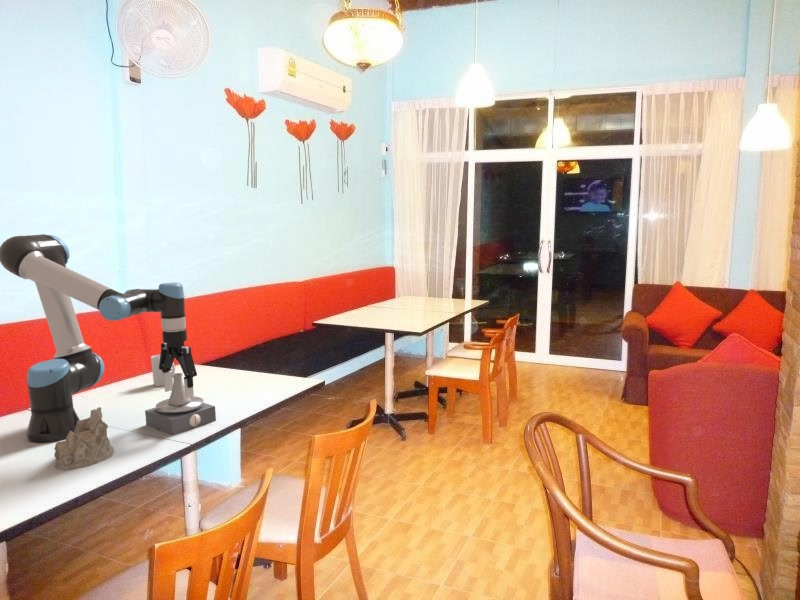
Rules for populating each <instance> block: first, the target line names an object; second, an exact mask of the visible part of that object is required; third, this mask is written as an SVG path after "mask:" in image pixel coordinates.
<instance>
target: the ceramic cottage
mask: <svg viewBox="0 0 800 600" xmlns="http://www.w3.org/2000/svg"><path fill="white" fill-rule="evenodd" d="M102 418H103V412H102V406H99V407H96V408H94V409H91V410H90V416H89V417H88V418H84V419H79V421H77V423H76V428H75V430H74V432H72V431H69V433H68V436H67V437H66V438H65V439H64V440H62V441H56V443H55V446H54V458H55V460H56V461H55V462H54V467H55V468H57V469H58V470H59V471H68V470H75V469H78V468H83V467H89V466H91V465H95V464H98V463H101V462H104V461H105V460H108V459H110V458H111V457H112V456H113V455H114V454H115V450H114V447H113V446H112V445H111V442H110V441H111V440H110V439H109V437H108V427H109V425H108V424H107V423H106V422H104V421H103V419H102Z"/></svg>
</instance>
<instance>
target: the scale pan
mask: <svg viewBox="0 0 800 600" xmlns="http://www.w3.org/2000/svg"><path fill="white" fill-rule="evenodd" d="M169 399H170V398H167V399H164V400H161V401H159V402H157V403H156V404H155V407H156V410H157V411H158V412H161V413H182V412H188V411H192V410H195V409H197V408H200V407H201V406H202V405H203V404H204V403H205V402H204V398H202V397H200V396H195V395H194V396H192V397H190V399H191V401H190V403H187V404H185V405H177V406H173V405H168V402H169Z"/></svg>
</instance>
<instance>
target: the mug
mask: <svg viewBox="0 0 800 600" xmlns="http://www.w3.org/2000/svg"><path fill="white" fill-rule="evenodd" d="M160 355H161V353H159V354H155V355H152V356H150V360H151V362H150V363H151V370H152V379H153V386H154V387H163V386H164V387H165V385H164V374H163V372H162V370H159V362H160ZM162 366H163V365H162ZM171 369H172V370H171V371H172V375H173V374H175V372H176V366H175V363H174V362H173V364H172V367H171Z"/></svg>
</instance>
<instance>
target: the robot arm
mask: <svg viewBox="0 0 800 600" xmlns="http://www.w3.org/2000/svg"><path fill="white" fill-rule="evenodd" d="M69 259H70V250H69V247H68V246H67V244H66V242H65V241H64V240H62V239H61V238H59V237H58V236H56V235H52V234H44V233H43V234H31V235H17V236H16V235H14V236H11V237H9V238H7V239H6V240H4V241H3V242H2V244H1V245H0V265H2V267H3V268H4V269H5V270H7V271H8V272H9V273H11V274H13V275H14V276H16V277H19V278H21V279H23V280H30V281H32V282H34V283H35V287H36V290H37V293H38V296H39V298H40V299H39V300H40V302H41V306H42V308H43V312H44V315H45V319H46V320H47V325H48V327H49V332H50V334H51V337H52V340H53V344H54V346H55V350H56V352H55V354H54V355H53V359H47V360H45V361H44V360H42V361H40V362H37V363H35V364H33V365H31V366H30V367H29V368H28V370H27V372H26V373H27V375H26V377H27V378H26V384H27V390H28V396H29V404H30V412H31V413H30V414H31V415H30V419H29V422H28V427H27V431H26V437H27V441H30V442H31V443H32V442H33V443H48V442H58V441H61V440H66V437H67V436H68V433H69V431H72V432H74V430H75V428H76V423H77V421H79V420H80V418H79V415H78V413H77V412H76V410H75V408H74V400H73V395H75V394H78V393H79V392H81V391H83V390H86V389H90V388H92V387H93V386H94V385H96V384H98V383H99V382H100V381H101V379H102V378H103V375H104V374H105V364H104V361H103V359H102V357H101V356H100V355H98V354H97V353H95V352H93V350H92V346H90V345H88V344H87V343H85V341H84V337H83V334H82V330H81V328H80V324H79V321H78V319H77V318H78V317H77V314H76V312H75V309H74V304H73V302H72V298H73V299H74V300H77V301H78V302H81V303H83V304H85V305H87V306H89V307H91V308H94V309H96V310H98V311H99V313H100V315H101V317H102V318H103V319H105V320H107V321H110V322H115V321H120V320H122V321H123V320H124V319H127V318H129V317H133V316H137V315H140V314H144V313H160V321H161V329H162V333H161V336H162V342H163V343H162V342H161V343H160V354H161V355H160V354H159V355H160V362H159V370H162V372H163V374H164V385H165V386H164V392H166V393H167V392H170V391H171V392H172V388H173V382H174V379H173V377H172V364H173V363H174V361H175V360H176V361H178V364H179V366H180V368H181V370H182V373H183V374H184V377H183V384H184V388H185V398H188V397H192V396H195V394H194V378H195V377H197V376H198V374H197V373H198V372H197V369H196V365H195V362H194V358H193V354H192V347H191V346H185V342H186V341H187V340H188V333H187V332H188V331H187V329H186V328H187V323H186V321H187V318H186V309H185V308H186V307H185V306H186V305H185V292H184V286H183V284H182V283H180V282H164V283H163V282H162V283H160V284H158V289H157V288H156V289H150V288H149V289H146V288H145V289H144V288H143V289H142V288H141V289H140V288H134V289H133V288H132V289H127V290H126V291H125V292H124V293H122V292H119V291H117V290H115V289H113V288H110V287H109V286H106V285H104V284H102V283H100V282H98V281H96V280H94V279H91V278H89V277H87V276H85V275H84V274H83V275H82V274H81V273H79V272H77V271H74V270H72V269H70V268H67V264H68V263H69ZM162 365H163V366H162Z"/></svg>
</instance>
